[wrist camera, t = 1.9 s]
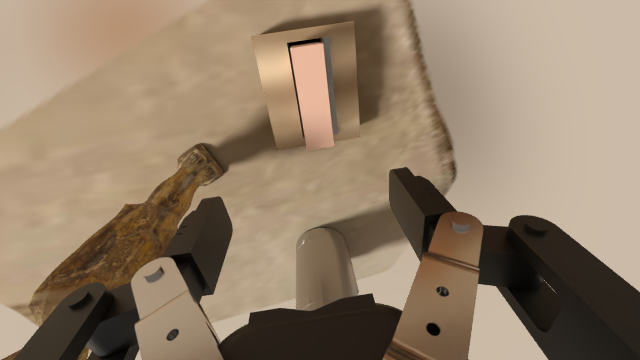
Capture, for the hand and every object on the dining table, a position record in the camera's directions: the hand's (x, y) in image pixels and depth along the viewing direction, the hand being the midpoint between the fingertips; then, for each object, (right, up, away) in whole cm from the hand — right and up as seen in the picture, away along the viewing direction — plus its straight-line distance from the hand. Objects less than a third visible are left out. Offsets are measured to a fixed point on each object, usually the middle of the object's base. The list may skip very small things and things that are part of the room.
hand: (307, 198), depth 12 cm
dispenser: (-1, +13, +21) cm, 25 cm away
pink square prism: (-1, +13, +21) cm, 25 cm away
